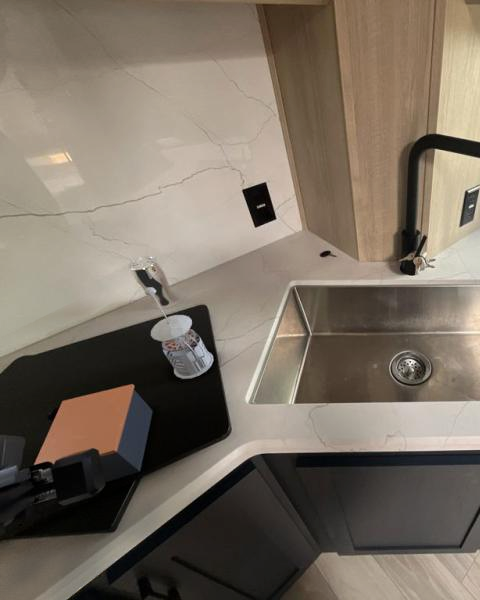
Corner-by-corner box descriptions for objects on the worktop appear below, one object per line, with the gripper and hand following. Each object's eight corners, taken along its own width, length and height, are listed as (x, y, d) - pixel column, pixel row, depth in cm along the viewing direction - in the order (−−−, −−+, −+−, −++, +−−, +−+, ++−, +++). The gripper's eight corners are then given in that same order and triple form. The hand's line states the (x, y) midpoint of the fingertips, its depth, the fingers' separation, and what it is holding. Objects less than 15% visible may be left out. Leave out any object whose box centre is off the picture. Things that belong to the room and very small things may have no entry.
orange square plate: (65, 403, 63) (62, 400, 62) (134, 386, 66) (132, 383, 66) (32, 476, 53) (29, 474, 52) (116, 452, 56) (114, 449, 56)
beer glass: (176, 293, 102) (154, 253, 92) (181, 305, 98) (159, 264, 88) (150, 302, 98) (125, 261, 89) (155, 314, 95) (129, 273, 85)
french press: (199, 345, 86) (157, 269, 70) (229, 362, 83) (192, 286, 66) (163, 370, 80) (108, 293, 64) (194, 391, 76) (143, 314, 60)
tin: (90, 429, 68) (63, 406, 62) (153, 412, 72) (133, 389, 66) (67, 495, 59) (32, 476, 53) (141, 472, 62) (117, 452, 56)
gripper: (48, 428, 39) (119, 402, 54) (-177, 486, 34) (-28, 440, 48) (65, 519, 39) (132, 468, 54) (-160, 594, 33) (-15, 514, 48)
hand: (59, 470), depth 51 cm, fingers closed
